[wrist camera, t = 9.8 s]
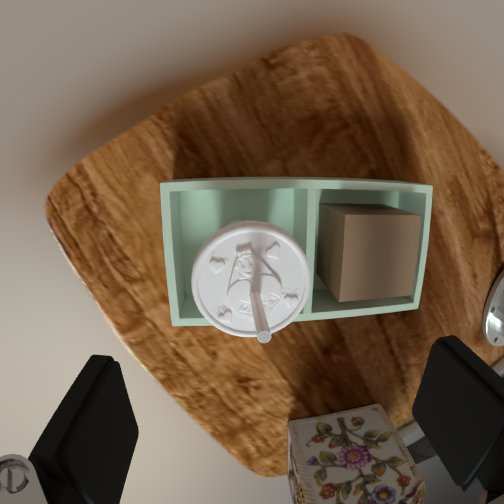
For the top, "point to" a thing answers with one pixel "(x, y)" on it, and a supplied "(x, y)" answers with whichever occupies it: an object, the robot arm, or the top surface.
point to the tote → (286, 217)
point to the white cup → (250, 279)
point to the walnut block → (367, 250)
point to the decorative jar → (351, 460)
